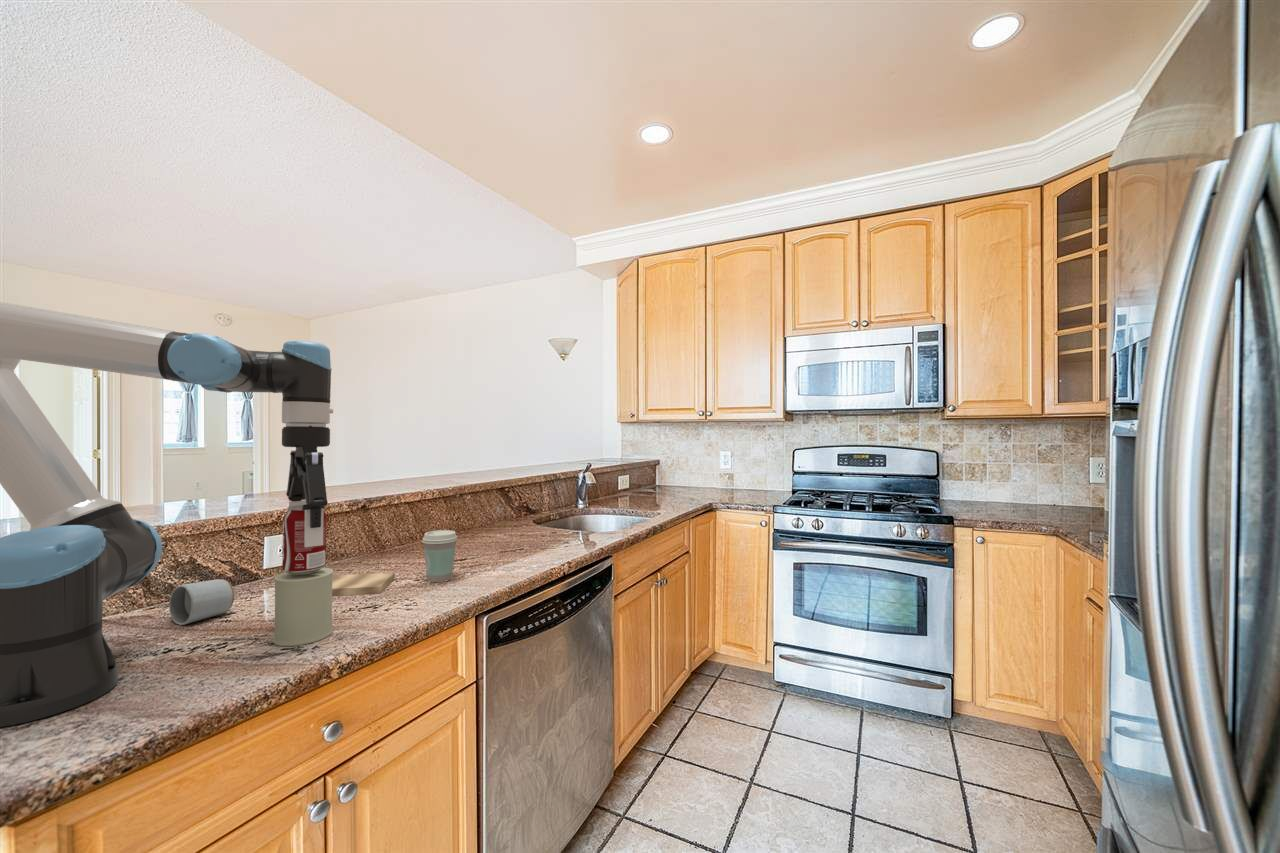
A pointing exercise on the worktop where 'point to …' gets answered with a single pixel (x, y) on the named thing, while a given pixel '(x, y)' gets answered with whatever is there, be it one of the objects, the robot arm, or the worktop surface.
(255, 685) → the worktop surface
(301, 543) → the soda can
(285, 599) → the can
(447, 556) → the coffee cup
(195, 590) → the grey hollow cylinder
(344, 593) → the cutting board
